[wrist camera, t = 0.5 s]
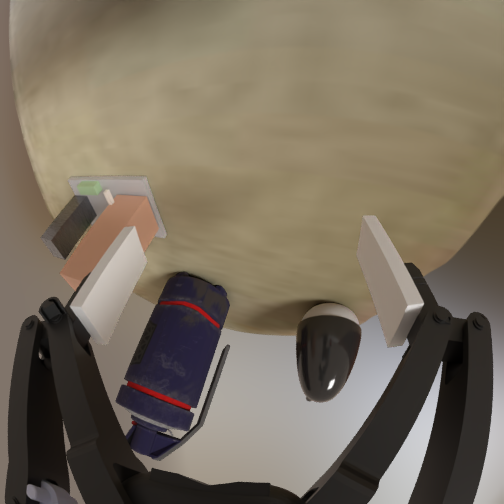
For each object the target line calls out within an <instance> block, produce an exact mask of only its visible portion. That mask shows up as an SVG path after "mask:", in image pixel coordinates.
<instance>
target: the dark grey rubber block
mask: <svg viewBox="0 0 504 504" xmlns="http://www.w3.org/2000/svg"><path fill="white" fill-rule="evenodd" d="M96 216H97V214H96V213H95V211H94V209H93V207H92V205H91V203H90V201H89V199H88V197H87V196H80V195H75V196H74V197H73V198H72V199H71V201H70V202H69V203H68V204H67V205H66V206H65V208H64V209H63V210H62V211H61V212H60V214H59V215H58V216H57V217H56V219H55V220H54V221H53V222H52V224H51V225H50V226H49V227H48V229H47V230H46V231H45V233H44V234H43V235H42V237H41V239H42V241H43V242H44V243H45V245H46V246H47V248H48V249H49V250H50V252H51V253H52V254H53V256H55V257H58V258H61V259H64V260H65V259H66V258H67V256H68V255H69V253H70V252H71V250H72V249H73V247H74V246H75V244H76V243H77V242H78V240H79V239H80V237H81V236H82V235H83V233H84V232H85V231H86V229H87V228H88V227H89V225H90V224H91V223H92V221H93V220H94V219H95V217H96Z"/></svg>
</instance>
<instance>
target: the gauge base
mask: <svg viewBox="0 0 504 504" xmlns="http://www.w3.org/2000/svg"><path fill="white" fill-rule="evenodd" d="M68 182H69V184H70V186H71V188H72V190H73V192H74V194H75V195H80V196H87V197H88V199H89V201H90V203H91V205H92V207H93V209H94V211H95V213H96V214H97V216H96V217H95V219H94V220H93V221H92V223H91V225H92V226H93V224H94V223H95V222H96V220H97V219H98V218H99V216H100V215H101V214H102V213H103V211H104V210H105V209H106V208H107V206H108V205H109V204H108V202H107V200H106V198H105V196H104V193H103V192H104V191H105V190H106V189H107V190H109V191H110V193H111V195H112V197H113V199H114V198H115V197H116V195H131V196H147V198H148V201H149V204H150V206H151V209H152V212H153V214H154V217H155V219H156V222H157V224H158V227H159V229H158V231H157V233H156V234H155V236H154V237H160V238H165V237H166V235H167V233H166V230H165V228H164V225H163V222H162V220H161V217H160V214H159V212H158V209H157V206H156V203H155V201H154V198H153V195H152V192H151V189H150V186H149V183H148V180H147V178H146V176H81V177H70V178H69V179H68Z"/></svg>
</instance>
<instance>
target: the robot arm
mask: <svg viewBox="0 0 504 504" xmlns="http://www.w3.org/2000/svg"><path fill="white" fill-rule="evenodd" d="M357 258H358V261H359V264H360V266H361V269H362V271H363V274H364V277H365V279H366V282H367V285H368V288H369V291H370V293H371V296H372V299H373V302H374V305H375V308H376V311H377V314H378V317H379V320H380V323H381V327H382V330H383V333H384V336H385V340H386V343H387V346H388V347H395V346H402V345H403V344H404V342H405V340H406V338H407V339H408V342H409V346H408V348H407V350H406V351H405V353H404V355H403V356H402V360H401V362H400V364H399V366H398V368H397V370H396V371H395V373H394V375H393V377H392V379H391V380H390V382H389V384H388V386H387V388H386V389H385V391H384V393H383V394H382V396H381V398H380V399H379V401H378V402H377V404H376V406H375V407H374V409H373V410H372V412H371V413H370V415H369V416H368V418H367V419H366V421H365V422H364V424H363V425H362V427H361V428H360V430H359V431H358V432H357V434H356V435H355V436H354V438H353V439H352V441H351V442H350V443H349V445H348V446H347V447H346V448H345V450H344V451H343V452H342V454H341V455H340V456H339V457H338V459H337V460H336V461H335V462H334V463H333V465H332V466H331V467H330V468H329V469H328V470H327V471H326V473H325V474H324V475H323V476H322V477H321V478H320V479H319V480H318V481H317V482H316V483H315V484H314V485H313V486H312V487H311V488H310V489H309V490H308V491H307V492H306V493H305V494H304V495H303V496H302V497H301V498H299V497H298V496H297V495H295V494H294V493H292V492H290V491H288V490H286V489H283V488H280V487H277V486H273V485H271V484H270V483H253V482H234V483H226V484H218V485H208V484H205V483H203V482H200V481H198V480H195V479H192V478H189V477H186V476H183V475H180V474H177V473H171V472H167V471H162V470H158V469H154V468H152V469H151V472H148V471H147V469H146V468H145V466H144V465H143V463H142V462H141V461H140V460H139V459H138V458H137V457H136V456H135V455H134V453H133V451H132V449H131V447H130V445H129V443H128V441H127V439H126V437H125V435H124V433H123V431H122V429H121V426H120V424H119V422H118V420H117V417H116V415H115V412H114V410H113V408H112V405H111V403H110V400H109V398H108V395H107V392H106V390H105V387H104V384H103V381H102V378H101V375H100V373H99V369H98V366H97V363H96V360H95V357H94V353H93V350H92V346H91V344H90V343H89V339H90V337H92V338H93V340H94V341H95V342H96V343H98V344H103V345H108V343H109V340H110V338H111V336H112V333H113V331H114V329H115V327H116V325H117V323H118V320H119V318H120V316H121V314H122V312H123V310H124V308H125V306H126V303H127V301H128V299H129V297H130V295H131V293H132V291H133V289H134V287H135V285H136V283H137V281H138V280H139V278H140V276H141V274H142V272H143V270H144V268H145V266H146V264H147V259H146V257H145V254H144V251H143V248H142V246H141V243H140V240H139V237H138V234H137V231H136V228H135V226H130V227H124V228H123V229H122V231H121V232H120V233H119V235H118V236H117V237H116V239H115V240H114V241H113V243H112V244H111V245H110V247H109V248H108V249H107V251H106V252H105V254H104V255H103V256H102V258H101V259H100V261H99V262H98V263H97V265H96V266H95V268H94V269H93V271H92V272H90V273H89V274H88V275H86V276H85V277H84V278H83V280H82V281H81V283H80V284H79V286H78V287H77V289H76V292H74V293H73V295H72V297H71V298H70V300H69V301H68V303H67V305H66V306H65V308H64V307H63V305H62V304H61V302H60V301H59V299H58V298H57V297H51V298H48V299H47V300H46V301H44V302H43V303H42V305H41V306H40V308H39V313H40V314H41V315H42V317H43V318H44V320H45V321H40V320H39V319H38V317H37V316H35V315H32V316H30V317H28V318H27V319H25V321H24V322H23V324H22V327H21V330H20V335H19V339H18V344H17V349H16V354H15V359H14V365H13V372H12V379H11V388H10V398H9V412H8V413H9V414H8V454H9V464H8V471H7V479H6V489H5V503H6V504H78V503H77V501H76V500H75V499H74V498H73V497H71V496H70V483H69V473H68V466H67V460H68V463H69V466H70V469H71V471H72V474H73V476H74V479H75V481H76V484H77V486H78V488H79V490H80V493H81V495H82V497H83V499H84V501H85V503H86V504H367V503H368V502H369V501H370V500H371V498H372V497H373V496H374V494H375V493H376V491H377V489H378V486H379V481H380V479H381V477H382V476H383V474H384V473H385V471H386V470H387V469H388V467H389V465H390V464H391V462H392V461H393V459H394V458H395V456H396V454H397V453H398V451H399V450H400V448H401V446H402V445H403V443H404V441H405V439H406V438H407V436H408V434H409V432H410V430H411V429H412V427H413V425H414V423H415V421H416V419H417V417H418V415H419V413H420V411H421V409H422V407H423V405H424V403H425V400H426V398H427V396H428V394H429V391H430V389H431V386H432V384H433V382H434V379H435V376H436V374H437V371H438V369H439V366H440V363H441V361H442V362H443V365H442V374H441V382H440V390H439V397H438V402H437V408H436V413H435V418H434V423H433V427H432V431H431V435H430V439H429V443H428V447H427V451H426V454H425V457H424V461H423V464H422V467H421V470H420V473H419V476H418V479H417V482H416V484H415V487H414V490H413V492H412V495H411V497H410V500H409V503H408V504H473V502H474V499H475V496H476V493H477V489H478V486H479V482H480V478H481V474H482V470H483V466H484V461H485V456H486V451H487V445H488V439H489V432H490V424H491V414H492V400H493V353H492V338H491V328H490V323H489V321H488V319H487V318H486V317H485V316H484V315H483V314H481V313H479V312H473V313H471V314H470V315H469V316H468V318H467V319H459V318H454V317H452V315H451V313H450V312H449V311H448V310H447V309H445V308H444V307H441V306H438V304H437V302H436V300H435V298H434V296H433V294H432V292H431V290H430V288H429V286H428V285H427V283H426V281H425V279H424V278H423V275H422V274H421V272H420V270H419V269H418V268H417V267H416V266H415V265H414V264H413V263H403V261H402V259H401V257H400V256H399V254H398V252H397V250H396V249H395V247H394V245H393V244H392V242H391V240H390V238H389V237H388V235H387V233H386V232H385V230H384V229H383V227H382V225H381V224H380V222H379V221H378V219H377V217H376V216H375V215H374V216H363V218H362V225H361V231H360V238H359V244H358V250H357ZM39 353H40V354H41V355H42V358H41V359H40V358H39ZM63 421H64V425H65V428H66V431H67V435H68V438H69V442H70V445H71V448H70V449H69V450H68V451H67V454H66V452H65V444H64V433H63ZM66 456H67V459H66Z"/></svg>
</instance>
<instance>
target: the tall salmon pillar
mask: <svg viewBox="0 0 504 504" xmlns="http://www.w3.org/2000/svg"><path fill="white" fill-rule="evenodd" d="M103 193H104V196H105V198H106V200H107V202H108V204H109V205H108V206H107V208H106V209H105V210H104V211H103V213H102V214H101V215H100V216H99V218H98V219H97V220H96V222H95V223H94V224H93V226H92V227H91V228H90V230H89V231H88V232H87V234H86V235H85V236H84V238H83V239H82V241H81V242H80V243H79V245H78V246H77V248H76V249H75V251H74V252H73V254H72V255H71V257H70V258H69V260H68V261H67V263H66V264H65V266H64V267H63V269H62V271H61V272H60V274H61V275H62V277H63V278H64V279H65V280H66V281H67V282H68V284H69V285H70V286H71V287H72V288H73V289H74V290H75V292H76V289H77V287H78V286H79V284H80V283H81V281H82V280H83V278H84V277H85V276H86V275H88V274H89V273H90V272H92V271H93V269H94V268H95V266H96V265H97V263H98V262H99V261H100V259H101V258H102V256H103V255H104V254H105V252H106V251H107V249H108V248H109V247H110V245H111V244H112V243H113V241H114V240H115V239H116V237H117V236H118V235H119V233H120V232H121V231H122V229H123V228H124V227H130V226H135V228H136V231H137V234H138V237H139V240H140V243H141V246H142V248H143V251H144V253H145V251H146V249H147V247H148V246H149V244H150V243H151V241H152V239H153V238H154V236H155V234H156V233H157V231H158V229H159V227H158V224H157V222H156V219H155V217H154V214H153V212H152V209H151V206H150V204H149V201H148V198H147V196H131V195H116V197H115V198H114V199H113V197H112V195H111V193H110V191H109V190H107V189H106V190H105V191H104V192H103Z"/></svg>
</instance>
